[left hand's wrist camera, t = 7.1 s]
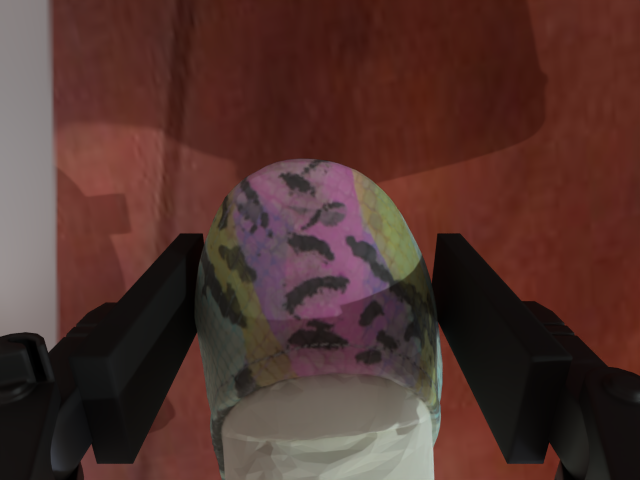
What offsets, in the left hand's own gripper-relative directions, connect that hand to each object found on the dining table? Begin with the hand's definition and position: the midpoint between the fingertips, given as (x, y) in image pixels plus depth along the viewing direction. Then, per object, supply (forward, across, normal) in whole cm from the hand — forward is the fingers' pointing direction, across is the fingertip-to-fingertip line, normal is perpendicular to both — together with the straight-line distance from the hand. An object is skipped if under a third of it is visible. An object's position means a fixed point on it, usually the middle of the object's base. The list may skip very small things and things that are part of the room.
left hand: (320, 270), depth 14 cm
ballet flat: (+2, 0, -8) cm, 8 cm away
